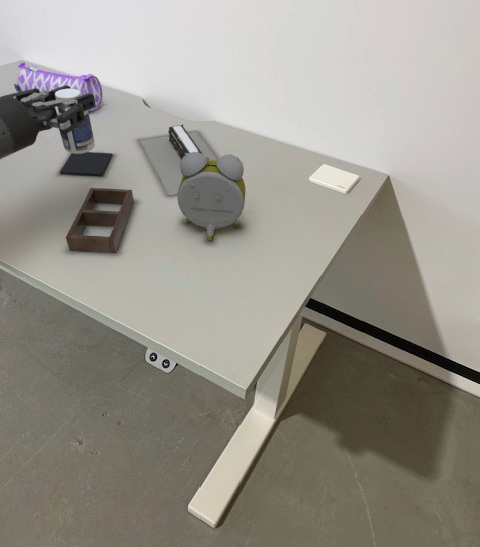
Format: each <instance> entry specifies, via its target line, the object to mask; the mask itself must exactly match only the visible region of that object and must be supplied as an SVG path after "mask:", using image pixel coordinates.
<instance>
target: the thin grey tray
mask: <svg viewBox="0 0 480 547" xmlns="http://www.w3.org/2000/svg"><path fill="white" fill-rule="evenodd" d="M168 134H169V135H168V136H161V137H153V138H148V139H140V140H139V142H140V143H141V145H142V147H143V149H144V151H145V153H146V155H147V156H148V159H149V161H150V163H151V164H152V166H153V168H154V170H155V172H156V174H157V176H158V178H159V179H160V182H161V183H162V185H163V187H164V189H165V191H166V192H167V194H168V196H175V195H178V190H179V186H180V183H181V180H182V177H183V175H182V173H181V169H180V163H181V160H182V159H183V157H184V156H185V154H186V153H191V152H198V153H201V154H203V155H204V156H205V157H206V158H207V157H209V159H214V160H218V159H217V157H216V156H215V155H214V153H213V152H212V151H211V149H210V148H209V147H208V145H207V144H206V142H205V141H204V140H203V139H202V138H201V136H200V135H199V133H198V132H195V131H194V132H188V131H187V130H186V128H185V127H184V123H182V124H180V125H173V126H169V127H168Z"/></svg>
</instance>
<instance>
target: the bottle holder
mask: <svg viewBox="0 0 480 547" xmlns="http://www.w3.org/2000/svg"><path fill="white" fill-rule="evenodd" d="M133 195H134V194H133V190H132V189H126V188H125V189H122V188H107V187H105V188H103V187H90V188H89V190H88V192H87V194H86V196H85V198H84V200H83V202H82V203H81V206H80V208H79V210H78V212H77V214H76V216H75V218H74V220H73V222H72V223H71V226H70V228H69V230H68V232H67V234H66V236H65V241H66V243H67V246H68V249H69V251H70V252H87V253H88V252H89V253H108V254H110V253H112V254H117V251H118V250H119V249H118V248H119V245H120V243H121V240H122V237H123V234H124V231H125V228H126V226H127V223H128V220H129V217H130V214H131V212H132V210H133V206H134V203H135V202H134V196H133ZM97 204H110V205H111V204H112V205H121V207H120V208H119V211H118V210H117V211H116V210H100V209H99V210H97V209H95V207H96V205H97ZM86 226H91V227H112V229H111V232H110V235H109V236H105V235H83V233H84V230H85V228H86Z"/></svg>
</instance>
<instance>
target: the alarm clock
mask: <svg viewBox="0 0 480 547" xmlns="http://www.w3.org/2000/svg"><path fill="white" fill-rule="evenodd" d="M180 169H181V173H182V175H183V177H182V180H181V183H180V186H179V190H178V194H177V204H178V208H179V210H180V211H181V213H182V214H183V216H184V217H185V218H186V219H185V223H187V224H189V223H193V225H196V226H198V227H202V228H205V229H206V234H207V236H206V237H207V240H208V241H213V238H214V233H215V230H216V229H222V228H225V227H228V226H231V225H232V224H233V225H234V226H235V227H236V228H237V227H240V223H239V220H238V219H239V218H240V217H241V215H242V213H243V210H244V207H245V201H246V194H247V193H246V192H247V191H246V184H245V180H244V178H243V175H244V171H245V167H244V164H243V161H242V160H241V159H240V158H239V156H236V155H234V154H225V155H221V156H220V157H219V158H218V159H217V160H214V159H209V157H207V158H206V157H205V156H204V155H203V154H201V153H198V152H191V153H186V154H185V156H184V157H183V159H182V160H181V163H180Z"/></svg>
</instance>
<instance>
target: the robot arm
mask: <svg viewBox="0 0 480 547" xmlns="http://www.w3.org/2000/svg"><path fill="white" fill-rule="evenodd" d="M62 89H71V87H70V86H67V85H65V86H62V87H59V88H57V89H54V90H51V91H49V90H43V91H41V92H40V91H39V89H37V88H34V89H30V90H26V91H22V92H17V91H16V92H13V93H9V94H5V95H1V96H0V160H3V159H4V158H6V157H8V156H12V155H13V154H15V153H17V152H20V151H21V150H24V149H26V148H29V147H30V146H32V145H34V144H35V142H36V141H37V137H38V135H39V133H40V132H43V131H49V130H51V129H53V128H55V129H58V131H59V134H60V133H61V134H67V133H69V132H70V131H72V130H73V129H74V128H76V127H77V126H78V125H80V124H81V123H83V122H84V121H85V115H84V111H87V110H88V111H89V109H91V108H93V107H95V98H94V95H93V94H91V93H87V94H85V95H83V96H80V97H78V98H75V99H74V100H69V101H64V102H62V101H60V100H56V97H55V93H56V92H57V91H59V90H62ZM27 96H28V97H27ZM70 106H71V108H69V109H68V110H66V111H65V108H66V107H70ZM55 107H58V111H59V114H58V115H59V116H57V112H56V109H55ZM61 134H60V135H61Z"/></svg>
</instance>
